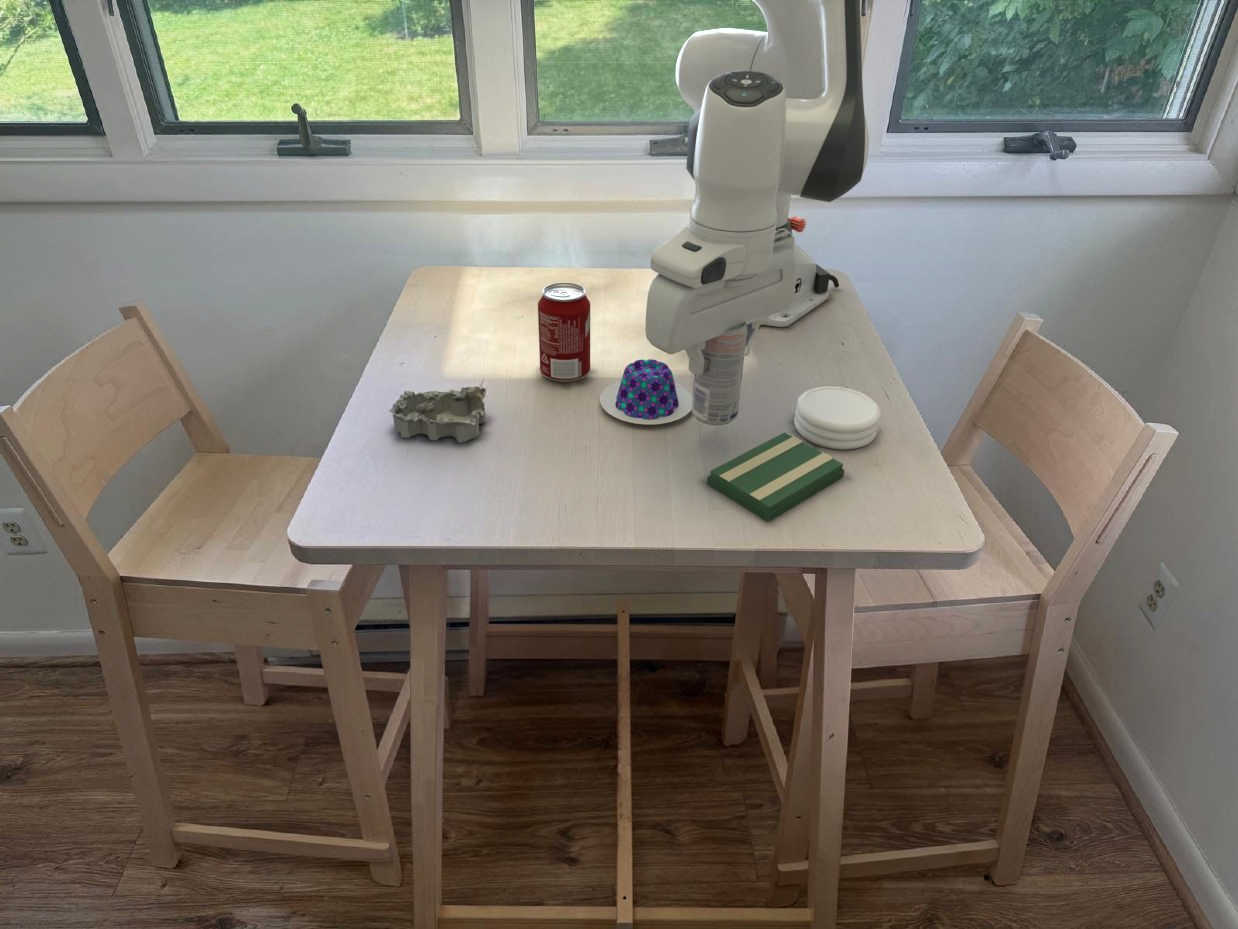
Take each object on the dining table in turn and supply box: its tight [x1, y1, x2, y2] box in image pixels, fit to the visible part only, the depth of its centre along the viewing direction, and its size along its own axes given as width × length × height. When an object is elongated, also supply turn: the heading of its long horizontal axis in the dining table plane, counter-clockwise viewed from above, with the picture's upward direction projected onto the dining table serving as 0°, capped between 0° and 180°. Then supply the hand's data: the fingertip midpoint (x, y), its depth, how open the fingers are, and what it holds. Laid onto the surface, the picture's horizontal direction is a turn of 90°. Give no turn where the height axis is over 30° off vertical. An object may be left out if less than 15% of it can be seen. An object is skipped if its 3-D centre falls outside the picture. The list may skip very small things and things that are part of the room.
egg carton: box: [388, 386, 487, 443], centre depth 105 cm, size 11×8×4 cm
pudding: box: [599, 358, 693, 425], centre depth 110 cm, size 12×12×5 cm
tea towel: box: [706, 432, 845, 522], centre depth 97 cm, size 13×9×2 cm
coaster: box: [793, 385, 882, 450], centre depth 106 cm, size 10×10×4 cm
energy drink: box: [691, 322, 747, 426], centre depth 98 cm, size 5×5×12 cm
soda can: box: [537, 281, 591, 384], centre depth 114 cm, size 7×7×12 cm
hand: (718, 363), depth 98 cm, fingers closed on energy drink, 5 cm apart
